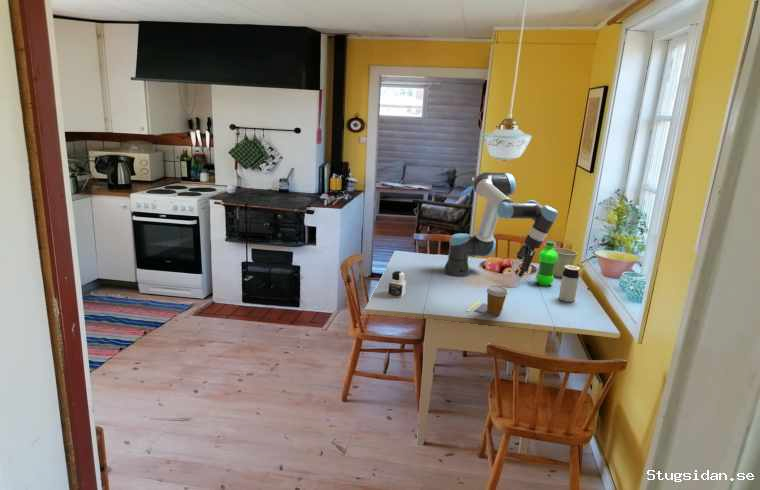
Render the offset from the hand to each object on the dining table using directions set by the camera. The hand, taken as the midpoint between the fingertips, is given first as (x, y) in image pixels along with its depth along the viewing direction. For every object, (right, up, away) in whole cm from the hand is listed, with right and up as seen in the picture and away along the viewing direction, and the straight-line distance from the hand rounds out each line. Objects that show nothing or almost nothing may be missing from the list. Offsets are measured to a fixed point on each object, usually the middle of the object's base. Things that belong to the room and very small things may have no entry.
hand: (514, 275), depth 233 cm
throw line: (-19, -16, +3) cm, 25 cm away
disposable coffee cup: (-11, -18, -4) cm, 21 cm away
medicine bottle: (-56, -11, +14) cm, 59 cm away
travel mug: (+34, -14, +23) cm, 43 cm away
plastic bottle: (+30, -8, +45) cm, 55 cm away
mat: (-12, -17, 0) cm, 21 cm away
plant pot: (+46, -4, +64) cm, 78 cm away
